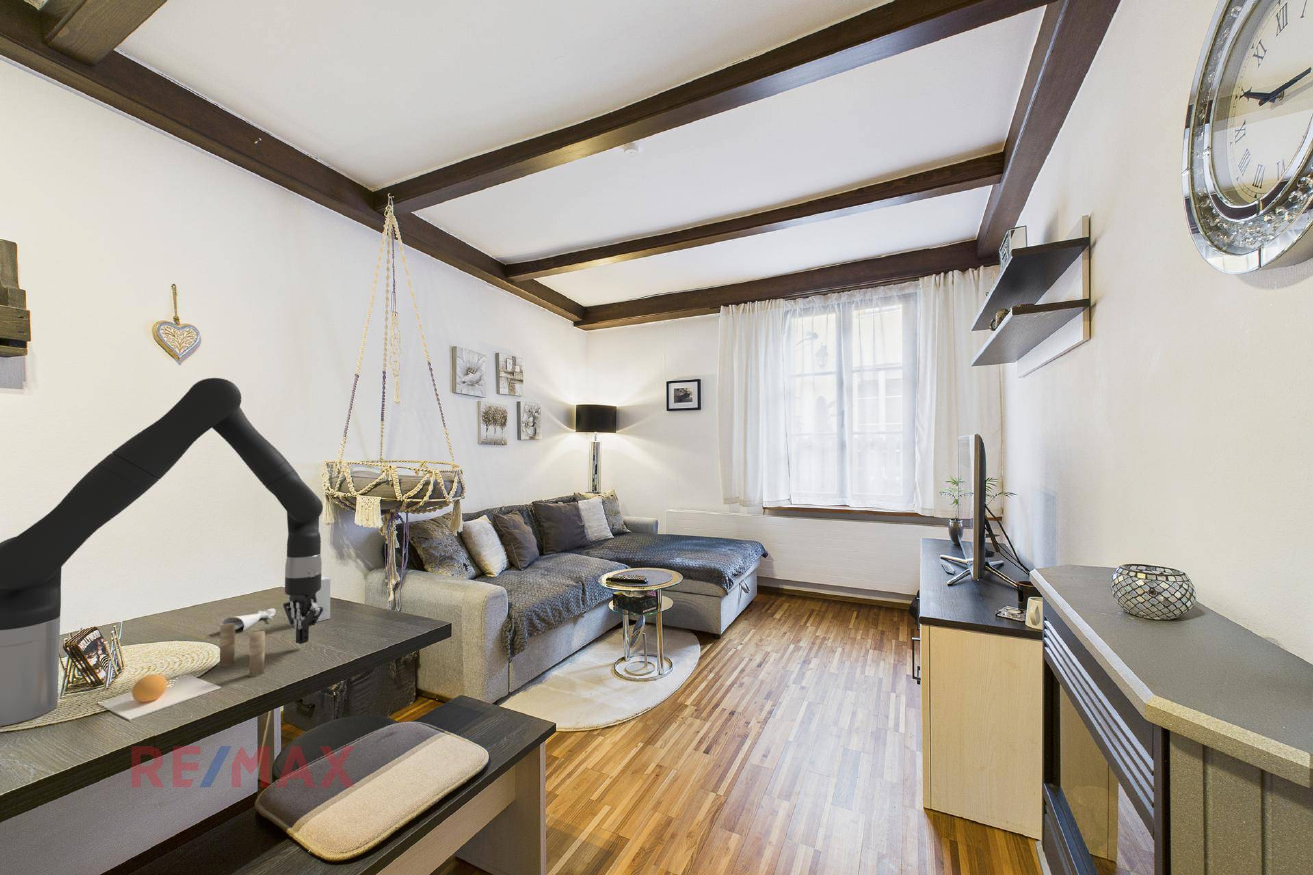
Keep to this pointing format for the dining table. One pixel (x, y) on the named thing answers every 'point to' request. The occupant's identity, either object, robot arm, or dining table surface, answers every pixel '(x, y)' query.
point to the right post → (257, 653)
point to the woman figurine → (249, 618)
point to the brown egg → (149, 688)
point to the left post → (227, 644)
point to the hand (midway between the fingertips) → (302, 642)
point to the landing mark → (173, 695)
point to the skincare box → (324, 598)
